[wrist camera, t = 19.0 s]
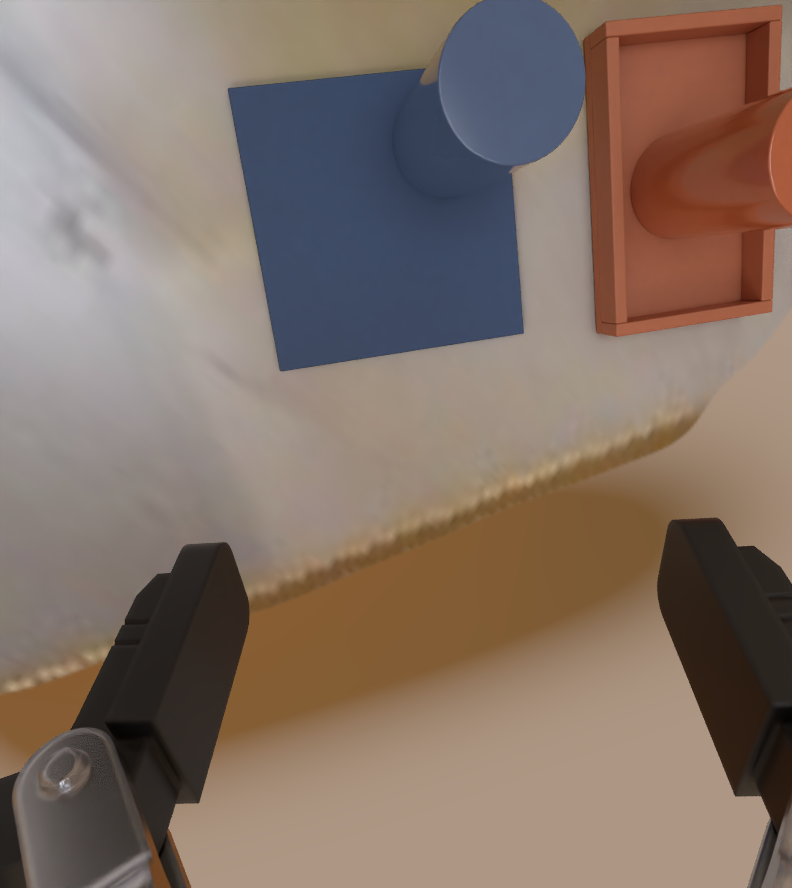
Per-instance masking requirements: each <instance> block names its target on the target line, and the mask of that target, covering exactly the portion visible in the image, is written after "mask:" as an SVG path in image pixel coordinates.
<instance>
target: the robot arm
mask: <svg viewBox="0 0 792 888" xmlns="http://www.w3.org/2000/svg"><path fill="white" fill-rule="evenodd" d="M657 591H658V600H659V606H660V609H661V613H662V616H663V618H664V621H665V623H666V626H667V628H668V631H669V633H670V636H671V638H672V641H673V643H674V646H675V648H676V650H677V653H678V655H679V658H680V660H681V663H682V665H683V668H684V670H685V673H686V675H687V678H688V680H689V683H690V685H691V688H692V690H693V693H694V695H695V698H696V700H697V703H698V705H699V708H700V710H701V713H702V715H703V718H704V720H705V723H706V725H707V727H708V730H709V732H710V735H711V737H712V740H713V743H714V745H715V747H716V750H717V752H718V755H719V757H720V760H721V762H722V765H723V767H724V770H725V772H726V775H727V777H728V780H729V782H730V785H731V787H732V790H733V792H734V795H735V796H761V797H762V799H763V802H764V804H765V806H766V809H767V811H768V813H769V815H770V819H769V821H768V823H767V826H766V829H765V832H764V835H763V839H762V842H761V845H760V848H759V851H758V855H757V858H756V861H755V865H754V867H753V871H752V874H751V877H750V880H749V883H748V887H747V888H792V584H791V582H790V580H789V579H788V577H787V576H786V574H785V573H784V571H783V570H782V568H781V567H780V566H779V565H777V564H776V563H775V562H774V561H772V560H771V559H770V558H768V557H767V556H766V555H765V554H763V553H762V552H761V551H760V550H758V549H757V548H756V547H755V546H742V547H737V545H736V544H735V542H734V540H733V539H732V537H731V535H730V534H729V532H728V530H727V529H726V527H725V525H724V524H723V522H722V521H721V520H720V519H718V518H699V519H680V520H672V521H671V522H670V523H669V525H668V529H667V534H666V539H665V544H664V549H663V555H662V560H661V565H660V570H659V575H658V582H657ZM248 625H249V602H248V597H247V594H246V591H245V588H244V585H243V582H242V579H241V576H240V574H239V571H238V568H237V565H236V562H235V559H234V556H233V553H232V550H231V548H230V546H229V545H228V544H227V543H225V542H222V543H203V544H187V545H185V546H184V547H183V548H182V549H181V551H180V553H179V556H178V558H177V560H176V562H175V564H174V567H173V569H172V571H171V573H164V574H157V575H156V576H155V577H154V578H153V579H152V580H151V581H150V582H149V583H148V584H147V586H146V587H145V588H144V589H143V590H142V591H141V592H140V593H139V594H138V595H137V596H136V598H135V600H134V602H133V604H132V606H131V608H130V610H129V612H128V614H127V616H126V618H125V625H122V627H121V629H120V631H119V633H118V635H117V637H116V639H115V645H114V646H112V647H111V649H110V651H109V653H108V655H107V657H106V659H105V661H104V663H103V666H102V668H101V670H100V672H99V674H98V676H97V678H96V680H95V682H94V684H93V686H92V688H91V690H90V692H89V694H88V696H87V698H86V700H85V702H84V704H83V707H82V709H81V711H80V713H79V715H78V717H77V719H76V721H75V723H74V724H73V726H72V728H71V729H70V731H67V732H65V733H62V734H61V735H59V736H56V737H55V738H53V739H52V740H50V741H49V742H47V743H46V744H44V745H43V746H42V747H41V748H39V749H38V750H37V751H36V752H35V753H34V754H33V755H32V756H31V758H30V759H29V760H28V761H27V763H26V764H25V765H24V767H23V768H22V770H21V771H20V772H18V773H15V774H13V775H10V776H7V777H4V778H1V779H0V888H191V885H190V883H189V880H188V877H187V875H186V872H185V869H184V867H183V864H182V861H181V859H180V856H179V853H178V851H177V848H176V846H175V843H174V840H173V838H172V835H171V832H170V831H169V829H168V827H169V823H170V820H171V817H172V814H173V811H174V807H175V804H184V803H199V801H200V798H201V794H202V791H203V787H204V783H205V780H206V777H207V773H208V769H209V766H210V762H211V759H212V755H213V752H214V748H215V745H216V741H217V737H218V733H219V730H220V727H221V723H222V719H223V716H224V712H225V709H226V705H227V702H228V698H229V695H230V691H231V688H232V684H233V680H234V677H235V673H236V670H237V666H238V663H239V659H240V656H241V652H242V648H243V645H244V641H245V638H246V634H247V630H248Z"/></svg>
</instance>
